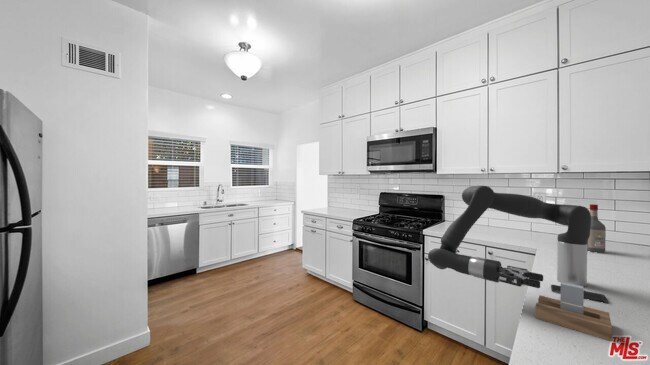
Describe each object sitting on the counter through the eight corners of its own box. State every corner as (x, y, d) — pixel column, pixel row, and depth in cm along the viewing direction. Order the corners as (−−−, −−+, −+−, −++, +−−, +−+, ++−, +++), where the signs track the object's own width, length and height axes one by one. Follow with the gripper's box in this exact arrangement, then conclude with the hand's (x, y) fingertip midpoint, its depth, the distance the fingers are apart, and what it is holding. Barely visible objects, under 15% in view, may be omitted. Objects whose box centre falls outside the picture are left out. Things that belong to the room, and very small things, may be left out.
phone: (608, 301, 90) (551, 290, 100) (608, 305, 90) (551, 292, 100) (604, 294, 96) (550, 283, 106) (604, 297, 96) (550, 286, 106)
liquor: (608, 253, 159) (608, 205, 159) (590, 252, 161) (591, 204, 161) (595, 249, 168) (596, 204, 168) (579, 248, 170) (579, 203, 170)
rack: (539, 305, 88) (539, 295, 88) (608, 324, 77) (608, 312, 77) (534, 317, 80) (535, 306, 80) (611, 340, 68) (612, 327, 68)
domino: (560, 316, 81) (561, 281, 81) (583, 322, 77) (583, 286, 77) (560, 319, 79) (560, 283, 79) (583, 326, 75) (583, 288, 75)
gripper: (479, 262, 90) (539, 275, 78) (489, 255, 100) (544, 265, 88) (479, 284, 90) (539, 299, 78) (489, 274, 100) (543, 287, 88)
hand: (541, 281), depth 83 cm, fingers open, 8 cm apart
